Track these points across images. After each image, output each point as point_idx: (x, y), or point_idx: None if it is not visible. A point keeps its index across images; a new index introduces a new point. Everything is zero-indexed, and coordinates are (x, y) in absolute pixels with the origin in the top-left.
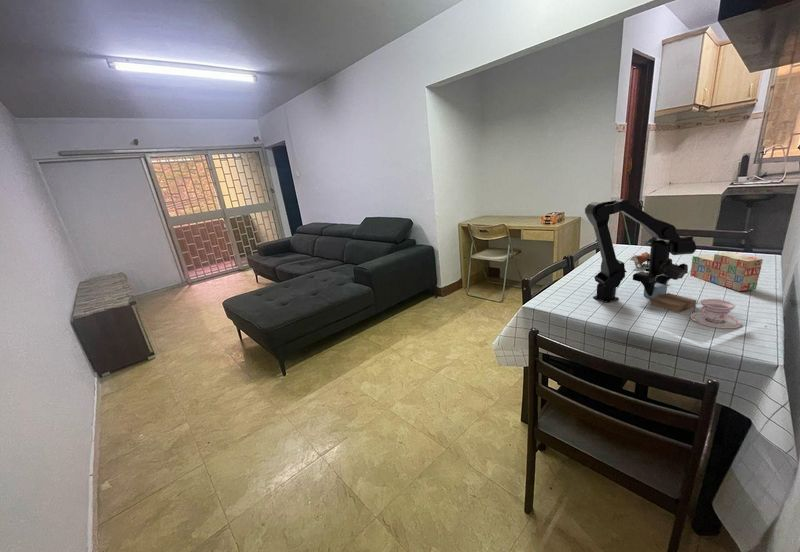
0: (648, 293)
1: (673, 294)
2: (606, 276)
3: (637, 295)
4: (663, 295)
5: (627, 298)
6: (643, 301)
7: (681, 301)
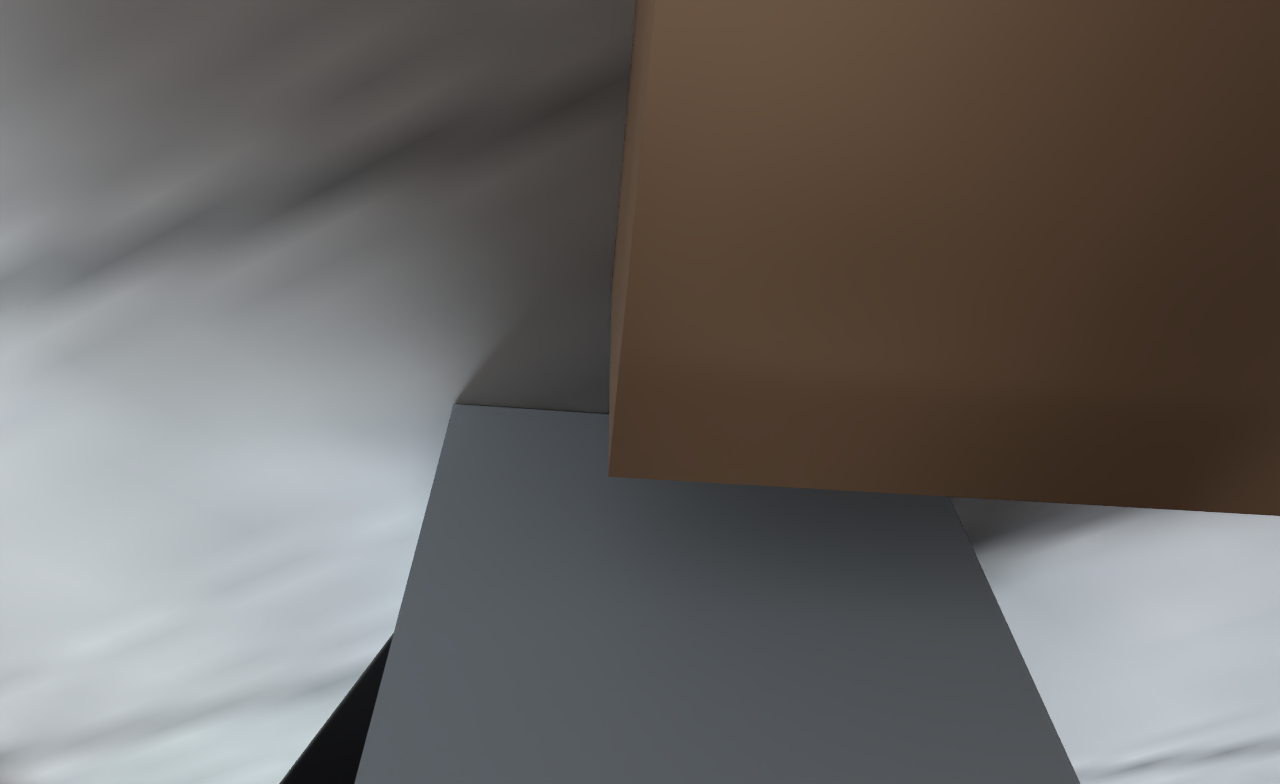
0: None
1: (656, 230)
2: None
3: None
4: (1131, 441)
5: (1163, 776)
6: (1238, 562)
7: None
